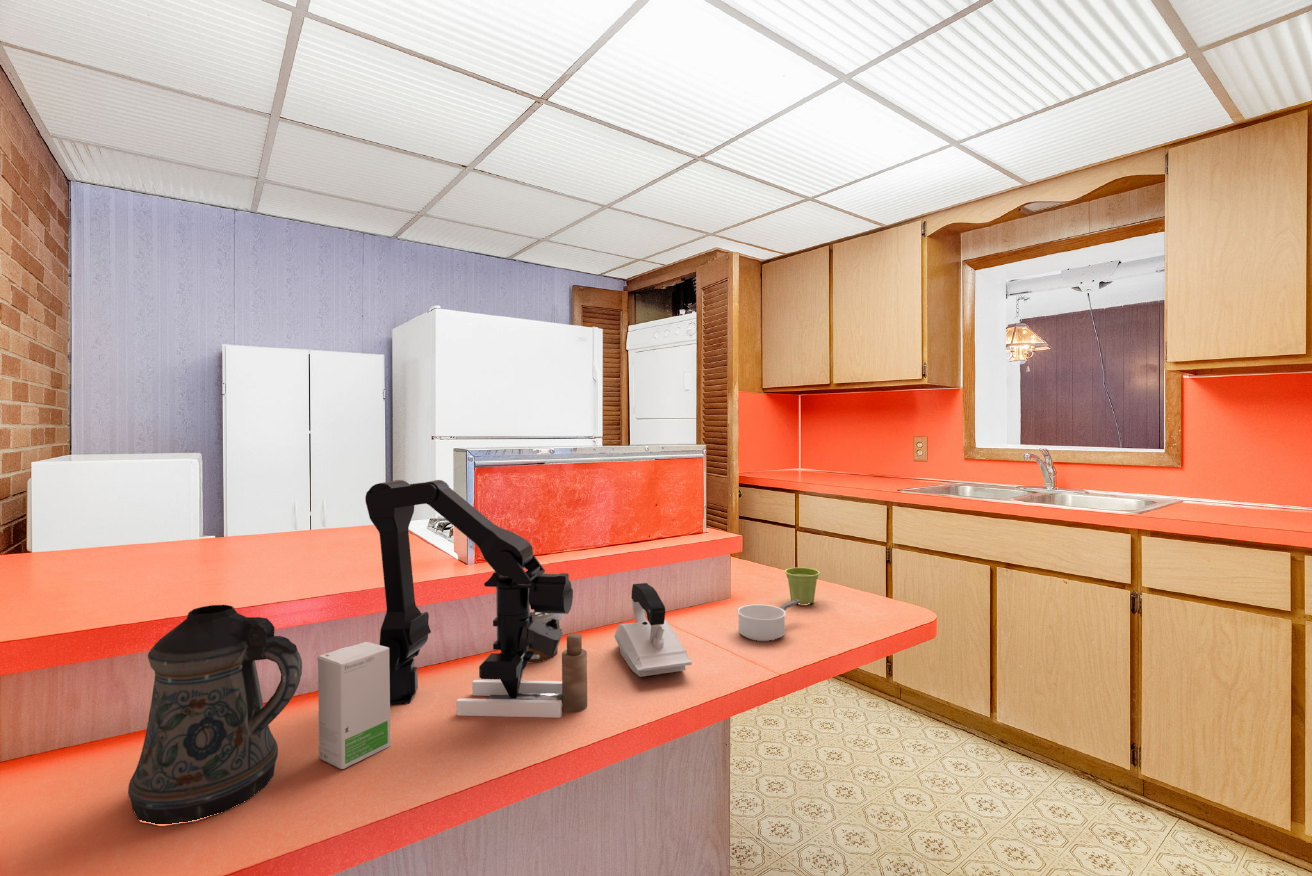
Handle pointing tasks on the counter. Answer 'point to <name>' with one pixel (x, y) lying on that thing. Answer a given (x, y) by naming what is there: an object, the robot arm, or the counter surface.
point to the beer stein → (210, 716)
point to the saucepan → (763, 621)
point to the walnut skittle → (574, 675)
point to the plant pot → (802, 584)
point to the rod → (539, 696)
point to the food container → (544, 618)
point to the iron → (650, 637)
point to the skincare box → (353, 703)
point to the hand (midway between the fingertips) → (513, 697)
